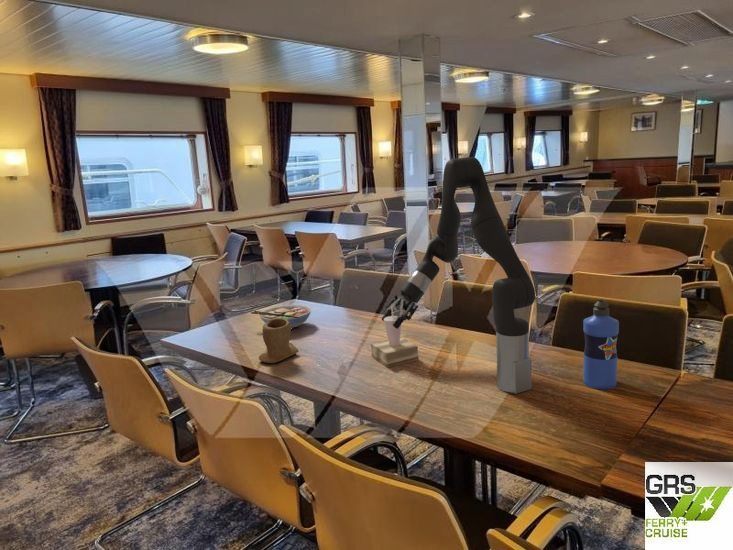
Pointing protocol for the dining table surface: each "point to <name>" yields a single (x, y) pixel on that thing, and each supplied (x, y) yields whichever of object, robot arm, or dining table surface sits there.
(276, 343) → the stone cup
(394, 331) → the smoothie
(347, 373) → the dining table surface
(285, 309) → the ramen bowl
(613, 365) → the water bottle
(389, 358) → the low rectangular block
